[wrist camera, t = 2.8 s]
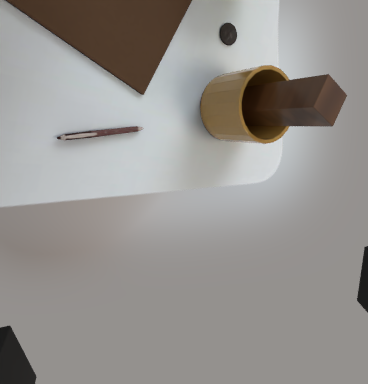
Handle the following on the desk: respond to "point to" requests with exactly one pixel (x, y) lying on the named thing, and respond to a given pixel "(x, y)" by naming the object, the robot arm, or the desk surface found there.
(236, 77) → the wooden pot
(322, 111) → the block
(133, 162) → the desk surface
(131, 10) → the mat
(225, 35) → the coin
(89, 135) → the pen
